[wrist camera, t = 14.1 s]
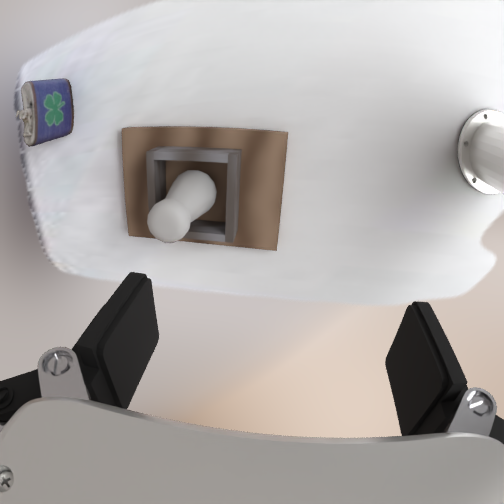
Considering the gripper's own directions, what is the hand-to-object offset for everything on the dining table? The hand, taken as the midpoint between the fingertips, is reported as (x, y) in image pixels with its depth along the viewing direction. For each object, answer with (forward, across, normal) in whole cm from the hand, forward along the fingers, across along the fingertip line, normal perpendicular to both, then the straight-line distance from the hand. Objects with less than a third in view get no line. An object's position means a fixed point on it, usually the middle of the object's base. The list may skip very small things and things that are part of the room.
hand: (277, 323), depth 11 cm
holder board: (+32, +11, +5) cm, 34 cm away
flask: (+33, +33, -7) cm, 47 cm away
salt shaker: (+31, +11, +5) cm, 33 cm away
